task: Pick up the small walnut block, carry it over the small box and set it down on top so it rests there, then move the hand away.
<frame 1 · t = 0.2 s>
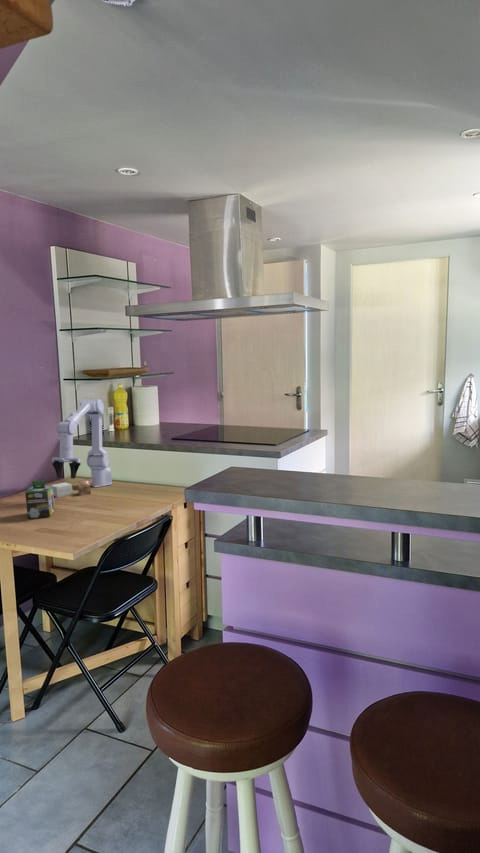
hand: (66, 478, 244), 11 cm above the table, tool pointing down, fingers open, 7 cm apart
small box: (61, 495, 257), on the table
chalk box: (41, 515, 225), on the table
peach capsule cylinder: (84, 488, 268), on the table
walnut block: (84, 494, 257), on the table
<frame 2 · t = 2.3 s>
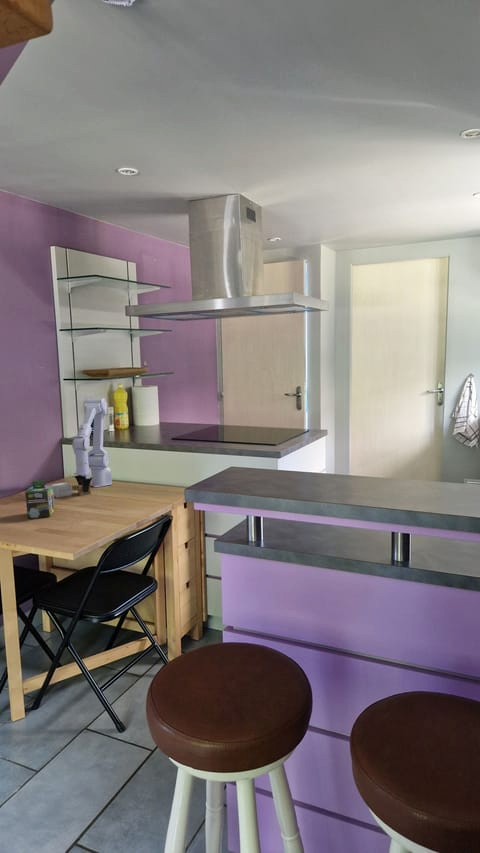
hand: (84, 490, 257), 1 cm above the table, tool pointing down, fingers closed on walnut block, 4 cm apart
walnut block: (84, 493, 257), on the table, touching gripper
everything else where it was.
when the fingers open (8 cm above the table, at t = 4.7 s): walnut block stays where it is, point 5 cm above the table.
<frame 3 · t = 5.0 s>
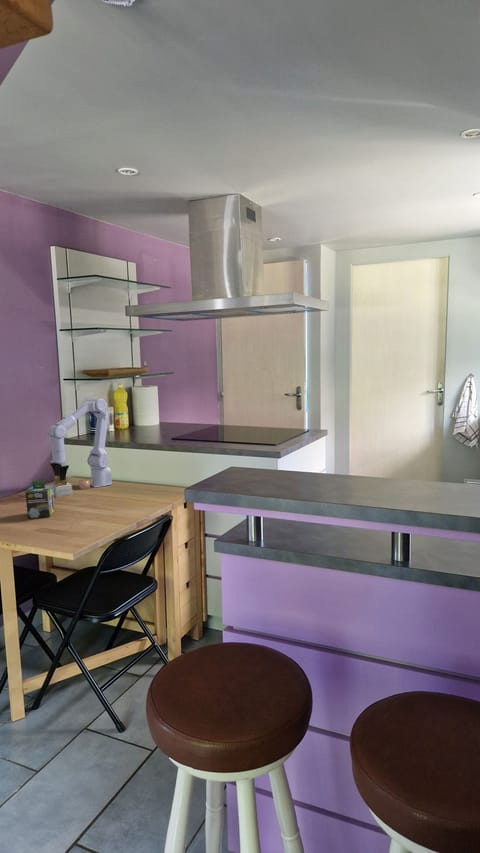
hand: (60, 478, 256), 8 cm above the table, tool pointing down, fingers open, 7 cm apart
walnut block: (60, 484, 256), point 5 cm above the table
everything else where it was.
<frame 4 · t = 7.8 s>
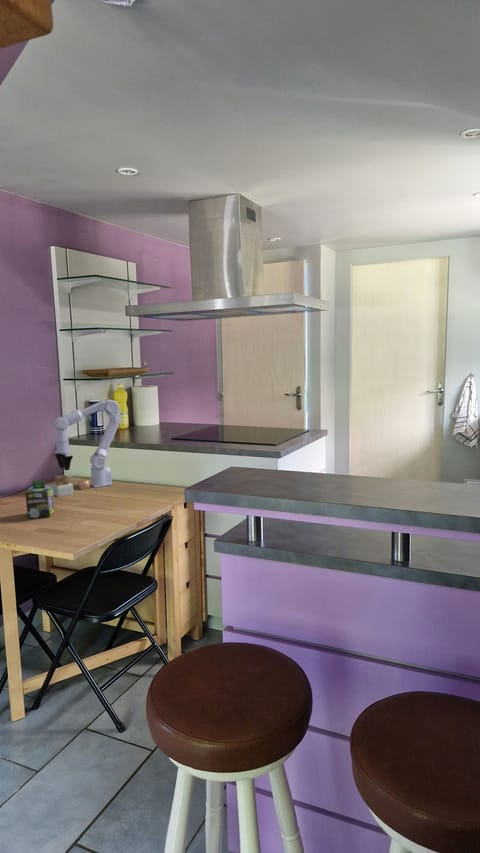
hand: (64, 468, 266), 10 cm above the table, tool pointing down, fingers open, 7 cm apart
small box: (63, 495, 258), on the table, touching walnut block
walnut block: (61, 484, 257), point 5 cm above the table, touching small box
everything else where it was.
at the end: walnut block 0.2 cm from the small box (horizontally); walnut block point 4.8 cm above the table; walnut block tilted 0° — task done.
